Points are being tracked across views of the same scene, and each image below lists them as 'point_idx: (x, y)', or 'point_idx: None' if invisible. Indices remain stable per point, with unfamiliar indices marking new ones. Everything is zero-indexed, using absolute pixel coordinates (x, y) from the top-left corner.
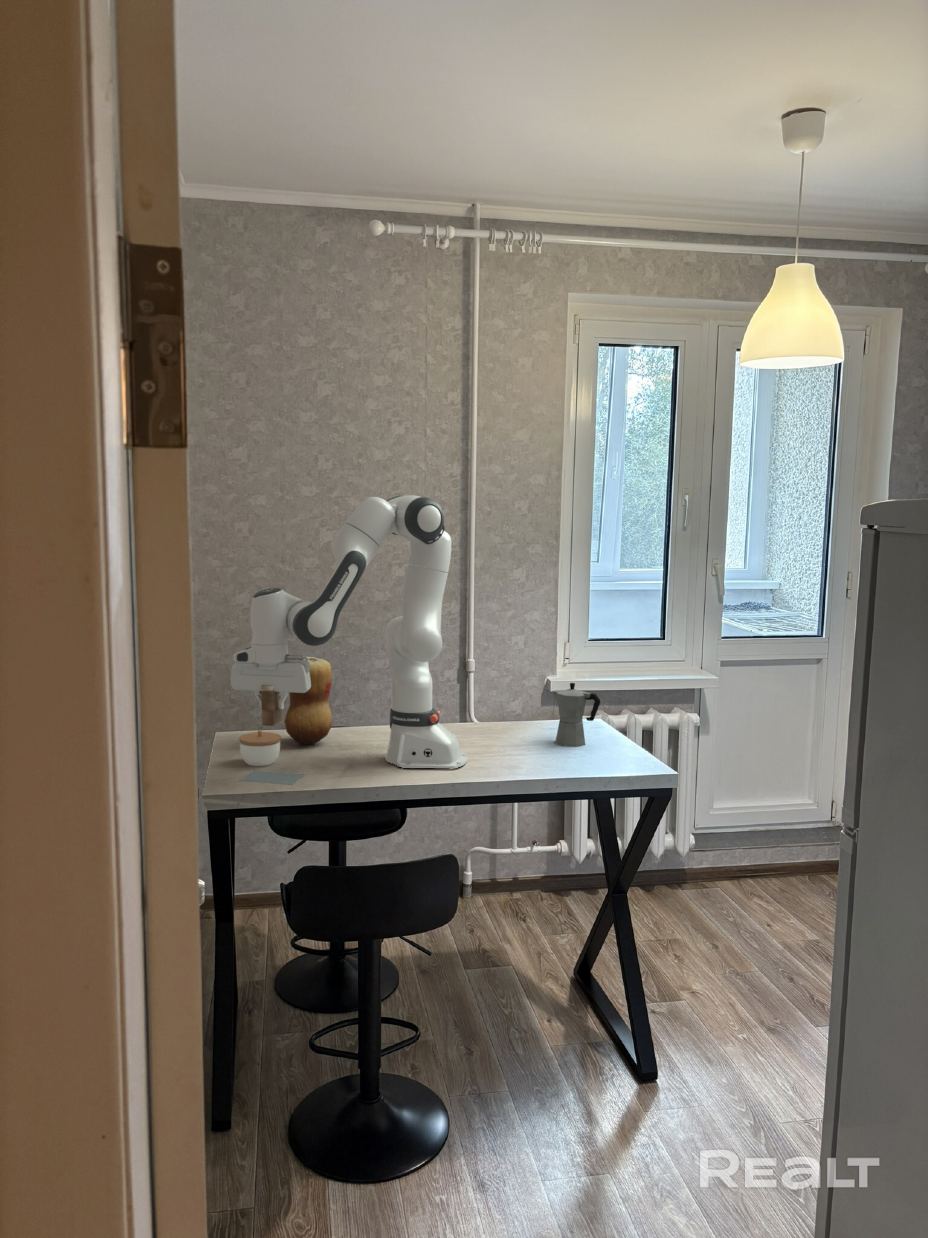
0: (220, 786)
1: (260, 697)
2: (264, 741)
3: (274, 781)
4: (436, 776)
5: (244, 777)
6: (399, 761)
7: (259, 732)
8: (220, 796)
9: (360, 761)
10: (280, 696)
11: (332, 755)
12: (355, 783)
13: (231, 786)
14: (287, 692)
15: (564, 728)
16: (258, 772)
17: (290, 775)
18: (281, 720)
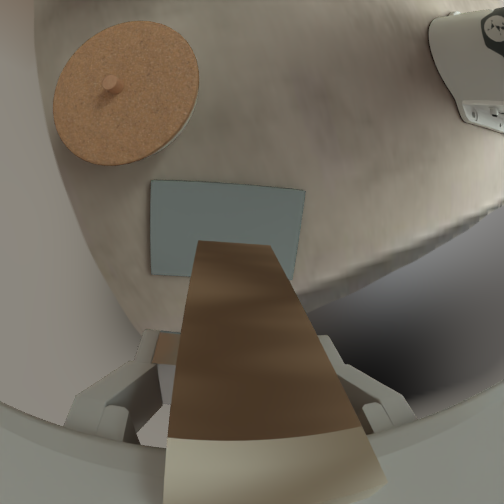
0: (123, 295)
1: (137, 413)
2: (154, 144)
3: None
4: (496, 166)
5: (153, 250)
6: (466, 104)
7: (110, 89)
8: None
9: (392, 54)
10: (318, 351)
11: (317, 3)
12: (408, 219)
13: (145, 292)
14: (406, 418)
15: None
16: (170, 199)
17: (268, 208)
18: (270, 247)
